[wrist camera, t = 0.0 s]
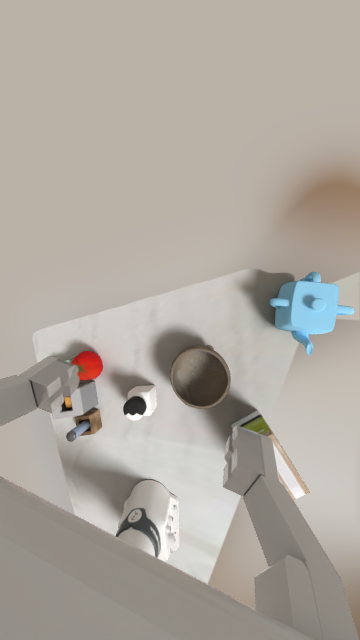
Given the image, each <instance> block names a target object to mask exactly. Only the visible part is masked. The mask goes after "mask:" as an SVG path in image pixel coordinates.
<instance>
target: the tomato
mask: <svg viewBox="0 0 360 640" xmlns="http://www.w3.org/2000/svg"><path fill="white" fill-rule="evenodd" d="M72 364H74V365H76V366H78V369H79V372H77V375H78V376H79V379H80V380H89V379H95V378H97V377H98V376H99V375H100V373H101V372H102V369H103V365H102V360H101V358H100V357H99V356H98V355H97V354H96V353H94V352H90V351H84V352H81V353H80V354H79V355H78V356H76V357H75V358H74V359H73V361H72Z"/></svg>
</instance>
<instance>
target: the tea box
mask: <svg viewBox="0 0 360 640" xmlns="http://www.w3.org/2000/svg"><path fill="white" fill-rule="evenodd" d="M236 425H237V426H240V427H243V428H246V429H248V430H251V431H254V432H257V433H258V434H261V435H264V436H267V437H270V438H271V439H272V441H273V446H274V452H275V458H276V464H277V470H278V476H279V482H280V483H282V484H284V486H285V487H286V489H287V491H288V492H289V494H290V496H291V497H292V499H293V500H295V499H297V498H299V497H301V496H303V495H305V494H307V493H309V490H308V488H307V486H306V485H305V483H304V481H303V480H302V478H301V477H300V475H299V473H298V472H297V470H296V468H295V467H294V465H293V464H292V462H291V460H290V459H289V457H288V456H287V454H286V453H285V451H284V450H283V448H282V446H281V445H280V443H279V441H278V440H277V438H276V437H275V435H274V434H273V432H272V431H271V429H270V428H269V426H268V425H267V423H266V422H265V420H264V419H263V417H262V415H261V414H260V413H259V411H258V410H257V411H255V412H253V413H251V414H250V415H248V416H246V417H244V418H242V419H241V420H239V421H237V422H235V423H233V424H232V425H231V426H232V430H233V428H234V426H236Z"/></svg>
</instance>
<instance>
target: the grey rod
mask: <svg viewBox="0 0 360 640" xmlns="http://www.w3.org/2000/svg"><path fill="white" fill-rule="evenodd" d="M89 427H90V420H89V419H86V420H85V421H83V422H82V423H81V424H79V425H78V426H77V427H75V428H74V429H72V430H71V431H70V432H68V433H67V436H66V437H67V440H68V441H70V442H72V441H74V440H75V439H76V438H77V437H78V436H80V435H81V434H82V433H83V432H84V431H86V430H87V429H88V428H89Z"/></svg>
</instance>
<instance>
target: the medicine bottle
mask: <svg viewBox="0 0 360 640" xmlns="http://www.w3.org/2000/svg"><path fill="white" fill-rule="evenodd" d="M127 396H128V401H127V402H126V403H125V404H124V408H123V411H124V414H125V416H126V417H127V418H128V419H129V420H132V421H136V420H139V419H140V418H141V417H142V416H145V415H151V414H152V413H153V411H154V410H155V408H156V407H157V400H156V388H155V385H149V386H135V387H134V388H133V389H132V390H130V391H129V392H128V393H127Z"/></svg>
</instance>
